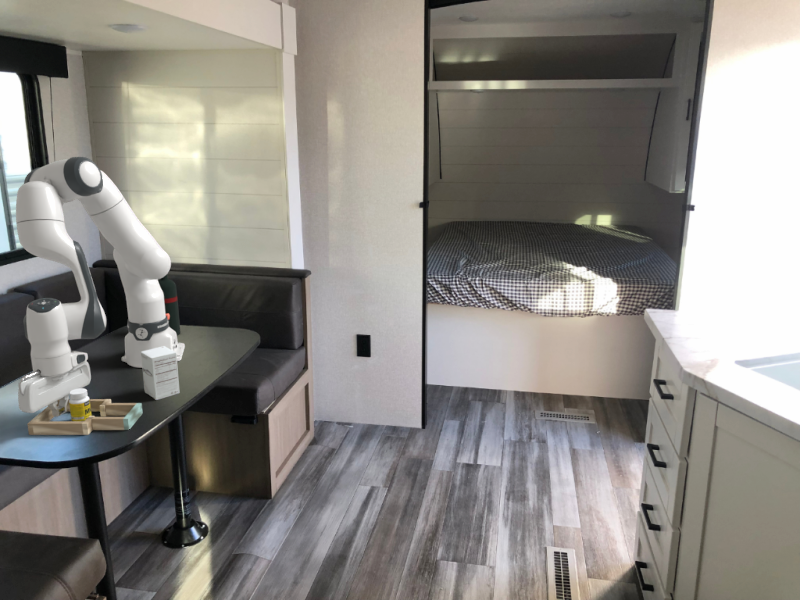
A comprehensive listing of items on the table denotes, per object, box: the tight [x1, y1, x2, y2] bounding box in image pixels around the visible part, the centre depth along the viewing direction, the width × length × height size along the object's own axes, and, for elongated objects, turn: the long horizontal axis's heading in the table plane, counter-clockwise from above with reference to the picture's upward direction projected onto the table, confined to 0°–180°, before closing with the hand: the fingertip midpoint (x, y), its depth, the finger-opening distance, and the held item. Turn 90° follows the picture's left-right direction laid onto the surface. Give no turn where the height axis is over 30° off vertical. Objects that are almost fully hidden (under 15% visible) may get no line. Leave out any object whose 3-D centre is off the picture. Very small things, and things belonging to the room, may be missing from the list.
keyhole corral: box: [27, 398, 143, 436], centre depth 164 cm, size 14×23×3 cm, turn 92°
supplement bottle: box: [69, 387, 93, 421], centre depth 163 cm, size 5×5×8 cm
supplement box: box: [141, 346, 181, 401], centre depth 180 cm, size 7×7×13 cm
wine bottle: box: [158, 273, 181, 336], centre depth 229 cm, size 8×10×30 cm
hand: (59, 414), depth 164 cm, fingers closed
